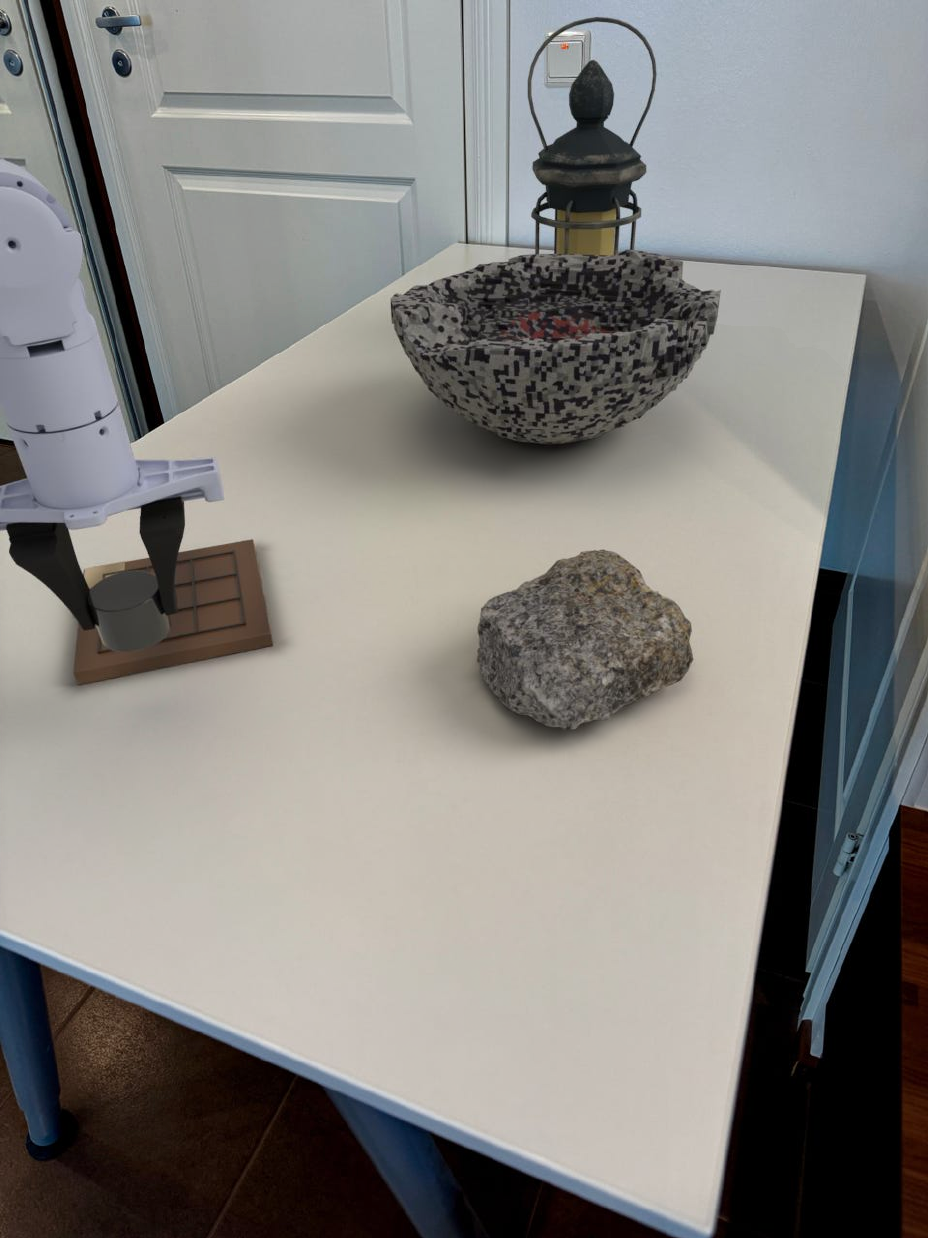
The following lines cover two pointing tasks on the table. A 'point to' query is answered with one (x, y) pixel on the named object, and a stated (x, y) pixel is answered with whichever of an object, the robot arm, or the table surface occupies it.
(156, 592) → the dark grey cylinder
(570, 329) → the bowl
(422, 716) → the table surface
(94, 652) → the board
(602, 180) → the lantern
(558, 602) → the rock
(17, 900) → the table surface
